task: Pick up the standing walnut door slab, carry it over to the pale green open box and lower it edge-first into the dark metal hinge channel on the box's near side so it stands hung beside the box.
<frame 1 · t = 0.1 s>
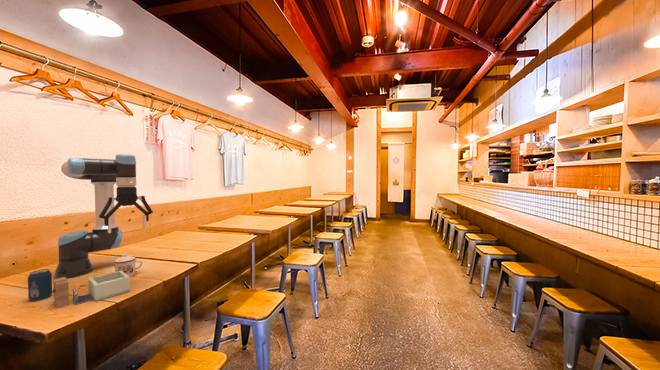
hand: (127, 230, 120), 28 cm above the table, fingers open, 13 cm apart
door: (61, 303, 106), on the table
pale green open box: (109, 292, 116), on the table
hinge rail: (83, 299, 109), on the table
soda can: (40, 298, 111), on the table
teacup with lid: (129, 275, 137), on the table
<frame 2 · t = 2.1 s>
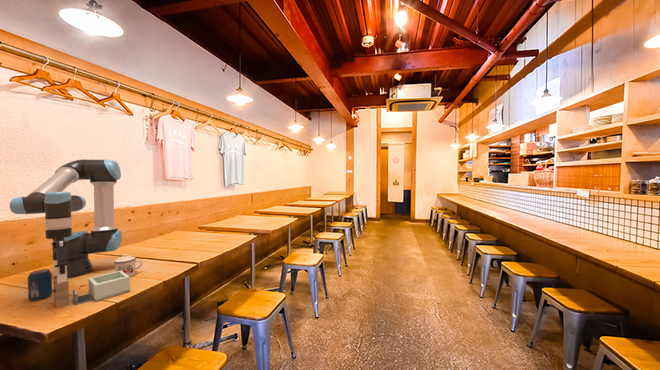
hand: (60, 278, 105), 11 cm above the table, fingers open, 13 cm apart
nothing on the table moved.
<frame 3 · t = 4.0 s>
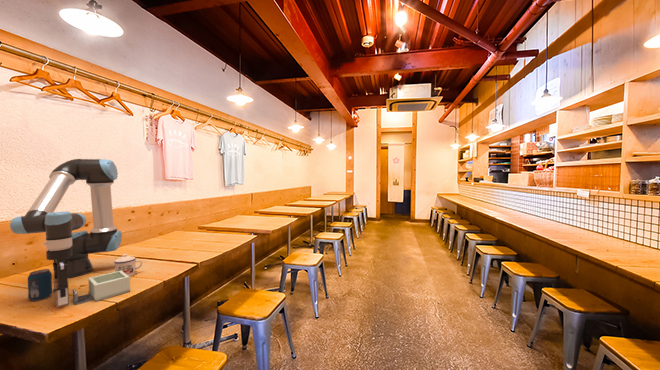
hand: (61, 301, 106), 1 cm above the table, fingers closed on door, 9 cm apart
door: (61, 303, 106), on the table, touching gripper
everything else where it was.
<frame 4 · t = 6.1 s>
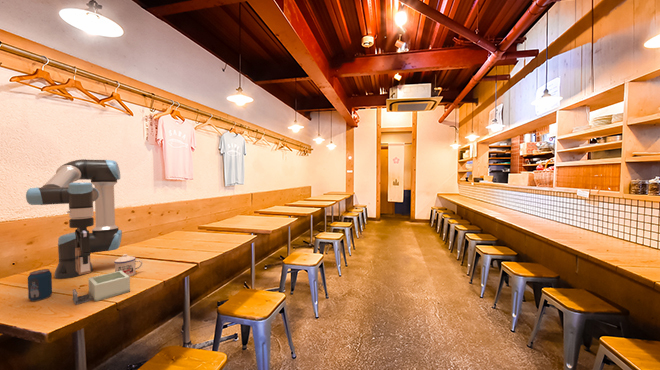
hand: (83, 269, 109), 13 cm above the table, fingers closed on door, 9 cm apart
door: (83, 271, 109), point 12 cm above the table, touching gripper
everything else where it was.
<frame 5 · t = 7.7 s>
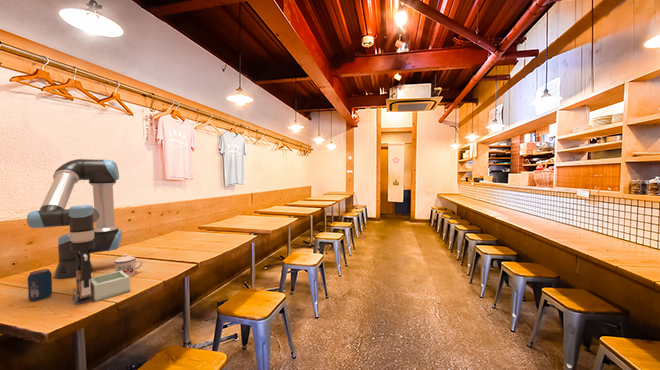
hand: (84, 291, 109), 3 cm above the table, fingers closed on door, 9 cm apart
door: (84, 294, 109), point 2 cm above the table, touching gripper
everything else where it was.
when the fingers open (3 cm above the table, at t = 8.7 s): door drops 1 cm, resting on hinge rail.
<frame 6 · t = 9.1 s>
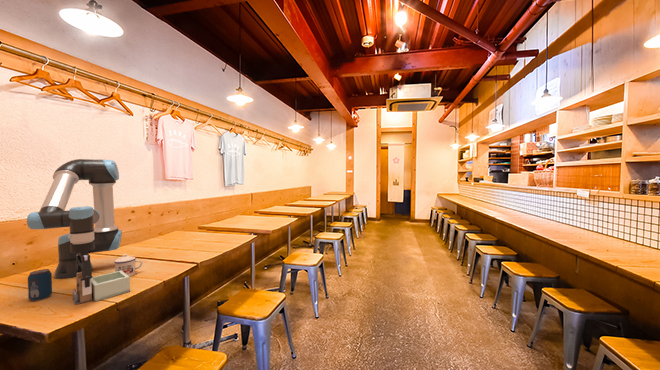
hand: (84, 290, 109), 4 cm above the table, fingers open, 13 cm apart
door: (84, 297, 109), point 1 cm above the table, touching hinge rail
everything else where it was.
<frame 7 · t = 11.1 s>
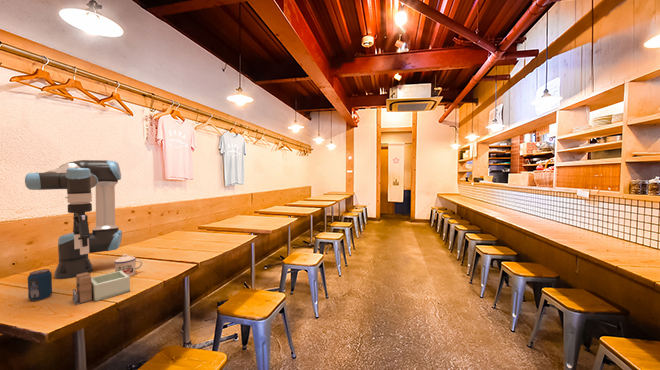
hand: (81, 251, 110), 21 cm above the table, fingers open, 13 cm apart
nothing on the table moved.
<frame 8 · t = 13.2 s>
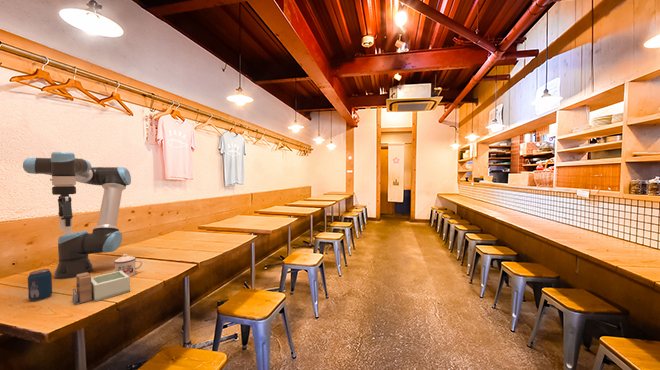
hand: (65, 232, 114), 29 cm above the table, fingers open, 13 cm apart
nothing on the table moved.
at the end: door 0.1 cm from the target spot, point 0.6 cm above the table; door tilted 0°; the gripper is holding nothing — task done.
